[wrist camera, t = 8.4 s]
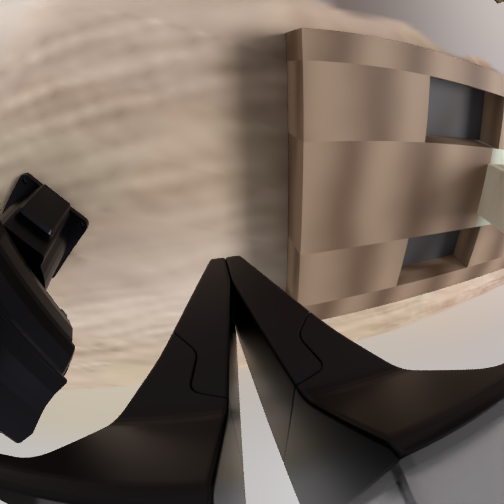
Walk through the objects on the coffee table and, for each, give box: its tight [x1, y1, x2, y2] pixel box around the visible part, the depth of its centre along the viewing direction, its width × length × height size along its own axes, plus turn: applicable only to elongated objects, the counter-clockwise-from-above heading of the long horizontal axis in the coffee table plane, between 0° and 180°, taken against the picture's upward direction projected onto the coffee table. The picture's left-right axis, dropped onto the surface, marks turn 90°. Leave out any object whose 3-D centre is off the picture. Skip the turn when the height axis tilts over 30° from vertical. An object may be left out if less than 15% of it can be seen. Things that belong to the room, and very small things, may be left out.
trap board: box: [286, 28, 504, 320], centre depth 23 cm, size 29×22×3 cm
